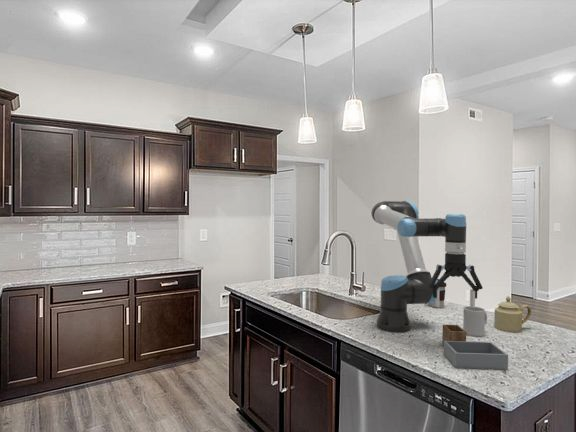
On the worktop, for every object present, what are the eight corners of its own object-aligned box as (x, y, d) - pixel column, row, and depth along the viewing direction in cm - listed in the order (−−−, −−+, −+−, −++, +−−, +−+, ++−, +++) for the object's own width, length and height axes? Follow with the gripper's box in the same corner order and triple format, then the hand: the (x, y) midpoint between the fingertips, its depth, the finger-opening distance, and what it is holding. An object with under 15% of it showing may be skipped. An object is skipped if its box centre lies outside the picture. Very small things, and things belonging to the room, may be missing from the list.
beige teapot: (508, 322, 185) (509, 291, 184) (532, 329, 175) (533, 296, 174) (488, 326, 178) (489, 294, 177) (512, 334, 168) (512, 300, 168)
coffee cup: (440, 309, 207) (441, 282, 206) (423, 306, 214) (424, 279, 214) (449, 306, 213) (449, 280, 213) (432, 303, 221) (432, 277, 220)
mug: (475, 337, 163) (475, 312, 162) (458, 331, 170) (459, 307, 170) (494, 334, 168) (494, 309, 168) (477, 328, 175) (477, 304, 175)
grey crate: (455, 367, 132) (455, 353, 132) (443, 353, 145) (443, 340, 144) (507, 369, 131) (508, 354, 131) (491, 355, 143) (491, 342, 143)
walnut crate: (450, 350, 148) (450, 331, 148) (442, 342, 157) (442, 324, 157) (466, 351, 148) (466, 332, 147) (457, 343, 157) (457, 324, 156)
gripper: (425, 253, 149) (425, 308, 149) (492, 254, 147) (491, 309, 147) (420, 251, 156) (420, 303, 156) (483, 252, 154) (483, 304, 155)
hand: (454, 306), depth 152 cm, fingers open, 13 cm apart
